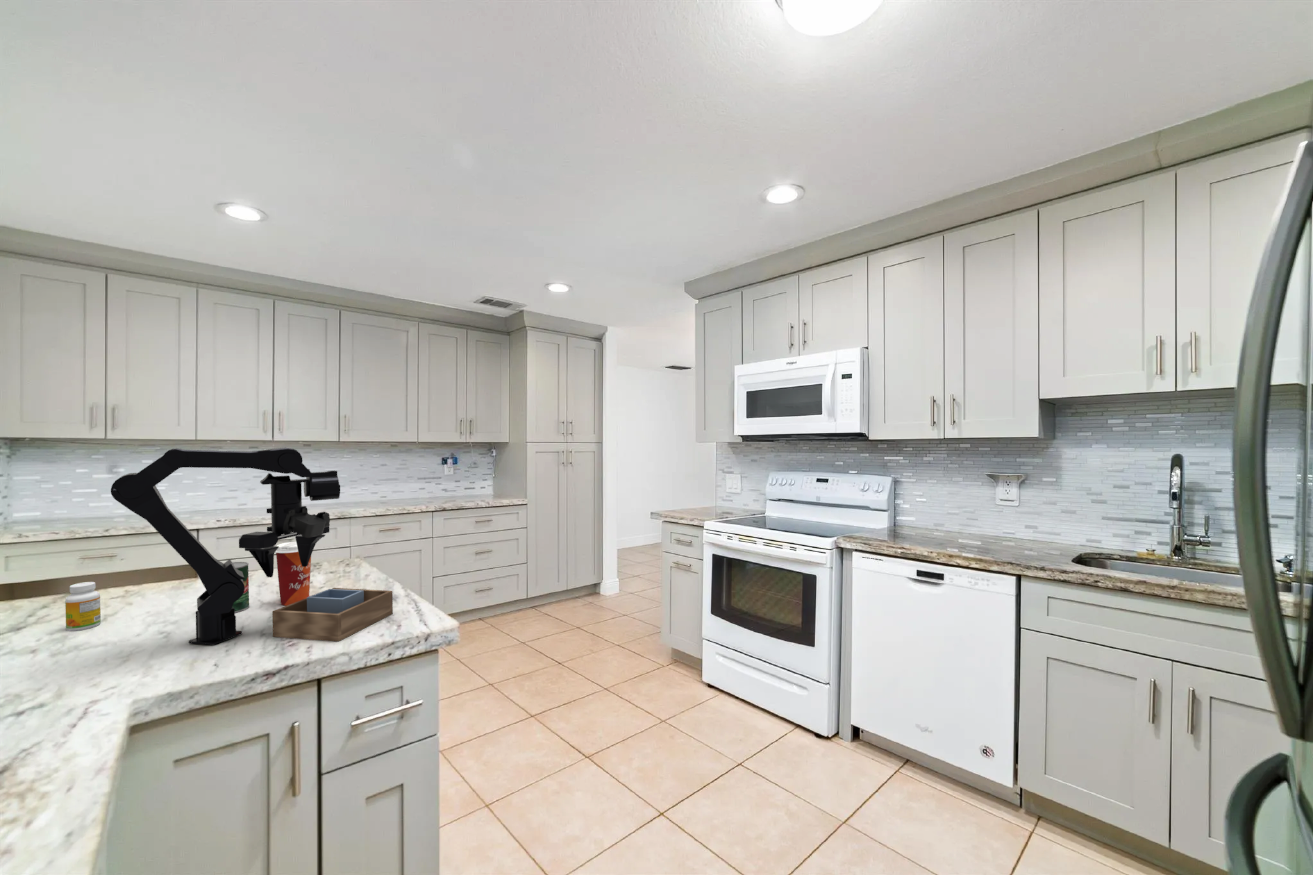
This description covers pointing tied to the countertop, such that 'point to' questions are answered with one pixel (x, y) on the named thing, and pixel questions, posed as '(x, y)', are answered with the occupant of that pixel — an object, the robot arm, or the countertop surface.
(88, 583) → the supplement bottle
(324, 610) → the small crate
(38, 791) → the countertop surface
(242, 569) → the canned tomato
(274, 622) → the big crate
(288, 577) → the coffee cup
